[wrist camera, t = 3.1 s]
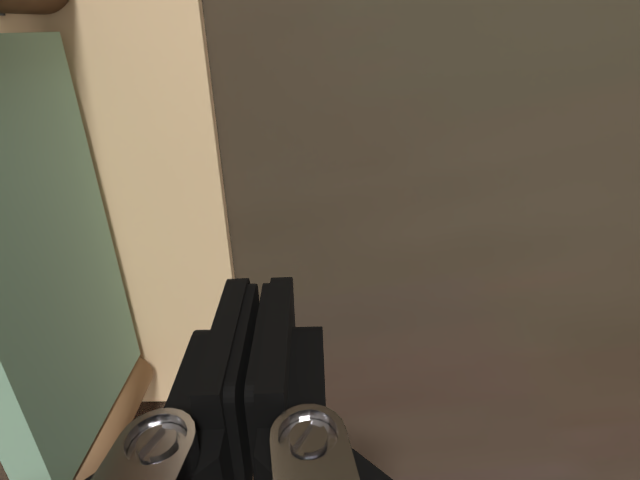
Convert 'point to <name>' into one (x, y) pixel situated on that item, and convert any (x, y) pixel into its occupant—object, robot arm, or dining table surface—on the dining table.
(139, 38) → the card
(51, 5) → the fence base
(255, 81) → the dining table surface
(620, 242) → the dining table surface
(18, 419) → the hinged panel
